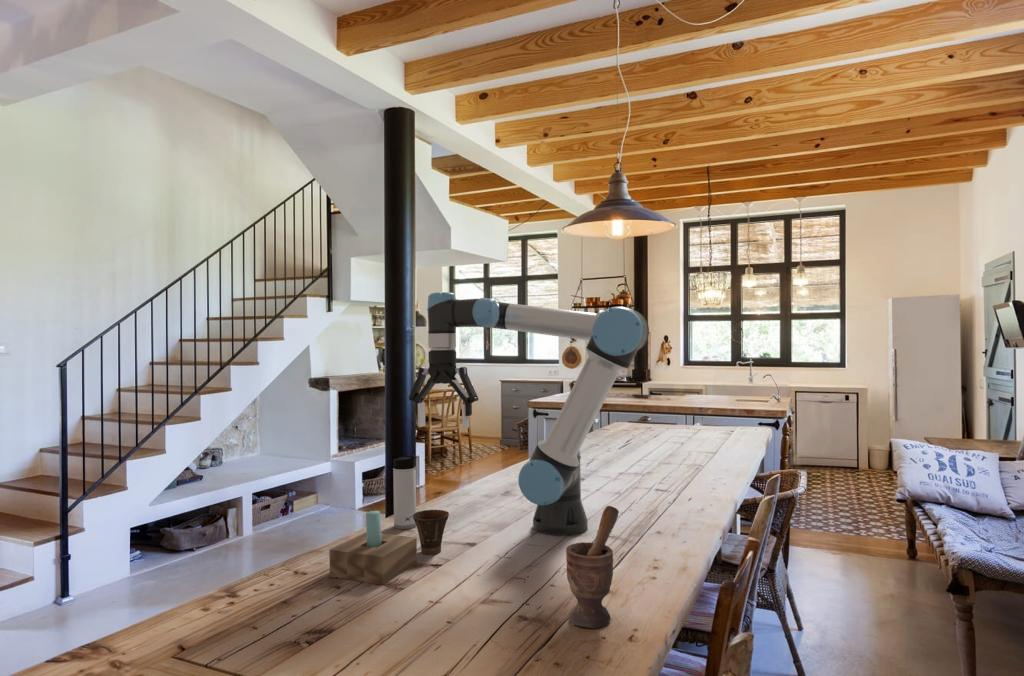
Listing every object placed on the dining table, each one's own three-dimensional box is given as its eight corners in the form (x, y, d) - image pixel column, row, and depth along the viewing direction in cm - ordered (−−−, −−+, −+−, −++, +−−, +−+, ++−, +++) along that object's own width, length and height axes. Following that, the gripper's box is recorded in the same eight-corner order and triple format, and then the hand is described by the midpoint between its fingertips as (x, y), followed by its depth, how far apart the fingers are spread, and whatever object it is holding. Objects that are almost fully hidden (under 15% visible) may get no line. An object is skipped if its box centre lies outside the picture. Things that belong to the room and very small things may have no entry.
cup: (458, 543, 159) (454, 505, 158) (443, 559, 150) (438, 520, 149) (427, 541, 162) (422, 504, 161) (410, 557, 153) (406, 518, 152)
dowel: (384, 563, 144) (383, 511, 144) (376, 568, 141) (375, 515, 141) (373, 562, 145) (371, 510, 145) (364, 566, 142) (363, 514, 142)
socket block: (416, 563, 147) (416, 537, 147) (382, 584, 134) (382, 556, 134) (367, 556, 152) (366, 531, 152) (329, 576, 139) (329, 549, 139)
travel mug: (413, 530, 173) (411, 457, 173) (390, 529, 174) (389, 457, 175) (420, 523, 179) (419, 453, 179) (399, 522, 181) (398, 453, 181)
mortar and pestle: (584, 601, 124) (582, 500, 124) (626, 609, 120) (624, 505, 120) (559, 624, 114) (557, 514, 114) (604, 634, 110) (602, 520, 110)
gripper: (489, 348, 169) (490, 427, 169) (410, 349, 179) (411, 423, 179) (477, 349, 162) (478, 430, 162) (395, 350, 172) (396, 427, 172)
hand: (443, 427), depth 170 cm, fingers open, 13 cm apart
